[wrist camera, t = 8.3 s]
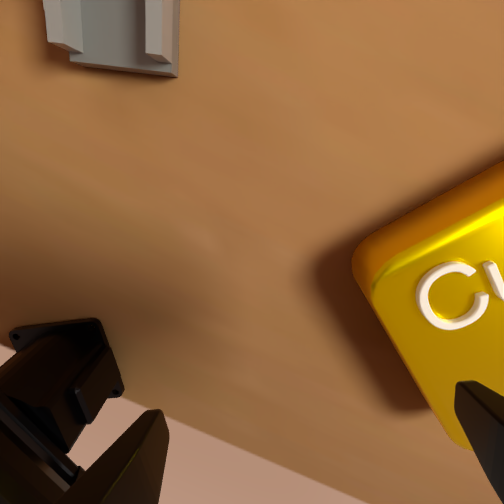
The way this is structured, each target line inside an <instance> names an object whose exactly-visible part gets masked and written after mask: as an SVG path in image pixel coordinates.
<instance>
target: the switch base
mask: <svg viewBox="0 0 504 504" xmlns="http://www.w3.org/2000/svg"><path fill="white" fill-rule="evenodd" d="M43 6H44V10H45V18H46V29H47V40H48V42H50V43H52V44H54V45H56V46H58V47H60V48H63V49H65V50H67V51H69V57H70V61H71V62H74V63H76V64H79V65H81V66H84V67H93V68H101V69H110V70H118V71H127V72H135V73H144V74H153V75H161V76H170V77H178V51H179V13H180V0H43Z"/></svg>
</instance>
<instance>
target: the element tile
mask: <svg viewBox="0 0 504 504" xmlns="http://www.w3.org/2000/svg"><path fill="white" fill-rule="evenodd" d="M351 263H352V273H353V276H354V278H355V280H356V282H357V284H358V285H359V287H360V289H361V290H362V292H363V294H364V296H365V297H366V299H367V301H368V302H369V304H370V306H371V308H372V309H373V311H374V313H375V314H376V316H377V318H378V320H379V321H380V323H381V325H382V326H383V328H384V330H385V332H386V333H387V335H388V337H389V338H390V340H391V342H392V344H393V345H394V347H395V349H396V350H397V352H398V354H399V356H400V357H401V359H402V361H403V362H404V364H405V366H406V368H407V369H408V371H409V373H410V374H411V376H412V378H413V380H414V381H415V383H416V385H417V386H418V388H419V390H420V392H421V393H422V395H423V397H424V398H425V400H426V401H427V403H428V404H429V406H430V408H431V409H432V411H433V412H434V414H435V416H436V417H437V419H438V420H439V422H440V424H441V425H442V427H443V428H444V430H445V432H446V433H447V435H448V436H449V437H450V438H451V440H452V441H453V442H454V443H455V444H457V445H459V446H460V447H462V448H464V449H468V450H471V451H474V450H473V448H472V446H471V444H470V442H469V440H468V438H467V436H466V434H465V432H464V430H463V428H462V426H461V424H460V422H459V420H458V418H457V416H456V414H455V410H454V397H455V386H456V383H457V382H458V381H466V380H475V381H477V382H479V383H481V384H483V385H485V386H486V387H488V388H490V389H492V390H494V391H495V392H497V393H499V394H501V395H502V396H504V160H503V161H501V162H499V163H498V164H496V165H494V166H492V167H490V168H489V169H487V170H485V171H483V172H481V173H480V174H478V175H476V176H474V177H472V178H471V179H469V180H467V181H465V182H463V183H462V184H460V185H458V186H456V187H454V188H453V189H451V190H449V191H447V192H445V193H444V194H442V195H440V196H438V197H436V198H435V199H433V200H431V201H429V202H427V203H426V204H424V205H422V206H420V207H418V208H417V209H415V210H413V211H411V212H409V213H408V214H406V215H404V216H402V217H400V218H399V219H397V220H395V221H393V222H391V223H390V224H388V225H386V226H384V227H382V228H381V229H379V230H377V231H375V232H373V233H372V234H370V235H369V236H368V237H366V238H365V239H364V240H363V241H362V242H361V243H360V244H359V245H358V246H357V248H356V249H355V251H354V254H353V256H352V259H351Z"/></svg>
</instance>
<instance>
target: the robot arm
mask: <svg viewBox="0 0 504 504" xmlns="http://www.w3.org/2000/svg"><path fill="white" fill-rule="evenodd" d="M91 325H94V326H95V328H94V327H92V326H91ZM17 334H18V335H19V336H18V335H17ZM9 338H10V340H11V342H12V344H13V346H14V348H15V350H16V352H17V353H16V354H15V355H13V356H12V357H11V358H10V359H9V360H8V361H6V362H5V363H4V364H3V365H2V366H1V367H0V504H158V502H159V497H160V491H161V485H162V479H163V473H164V467H165V462H166V456H167V450H168V444H169V430H168V427H167V424H166V421H165V417H164V414H163V412H162V410H160V409H154V410H147V411H145V412H144V413H143V414H142V415H141V416H140V417H139V418H138V419H137V420H136V421H135V422H134V423H133V424H132V425H131V426H130V427H129V428H128V429H127V430H126V431H125V432H124V433H123V434H122V435H121V436H120V437H119V438H118V439H117V440H116V441H115V442H114V443H113V444H112V445H111V446H110V447H109V448H108V449H107V450H106V451H105V452H104V453H103V454H102V455H101V456H100V457H99V458H98V459H97V460H96V461H95V462H94V463H93V464H92V465H91V467H89V468H88V469H87V470H86V471H85V470H84V469H83V468H82V467H81V466H77V465H76V464H75V463H74V462H73V461H72V460H71V459H70V458H69V457H68V456H67V455H66V454H67V453H69V451H70V450H71V448H72V447H73V445H74V443H75V442H76V440H77V439H78V437H79V435H80V434H81V432H82V431H83V429H84V427H85V426H86V424H91V423H92V422H93V421H94V419H95V418H96V416H97V414H98V412H99V411H100V409H101V408H102V406H103V404H104V403H105V401H106V399H107V398H117V397H120V396H121V395H122V394H123V392H124V390H125V389H124V385H123V382H122V379H121V377H120V376H121V374H120V372H119V369H118V366H117V363H116V360H115V358H114V355H113V352H112V349H111V348H110V346H109V343H108V340H107V338H106V335H105V332H104V329H103V326H102V324H101V322H100V321H99V320H98V319H95V318H91V319H82V320H74V321H66V322H58V323H49V324H41V325H33V326H25V327H17V328H15V329H13V330H12V331H11V332H10V333H9ZM115 389H116V390H115ZM117 390H118V391H117ZM454 410H455V414H456V416H457V418H458V420H459V422H460V424H461V426H462V428H463V430H464V432H465V434H466V436H467V438H468V440H469V442H470V444H471V446H472V448H473V450H474V452H475V454H476V456H477V458H478V460H479V462H480V464H481V466H482V468H483V470H484V472H485V474H486V476H487V478H488V479H489V481H490V483H491V485H492V487H493V488H494V490H495V492H496V493H497V495H498V497H499V498H500V500H501V501H502V503H503V504H504V396H502V395H501V394H499V393H497V392H495V391H494V390H492V389H490V388H488V387H486V386H485V385H483V384H481V383H479V382H477V381H475V380H466V381H458V382H457V383H456V386H455V397H454Z"/></svg>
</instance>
